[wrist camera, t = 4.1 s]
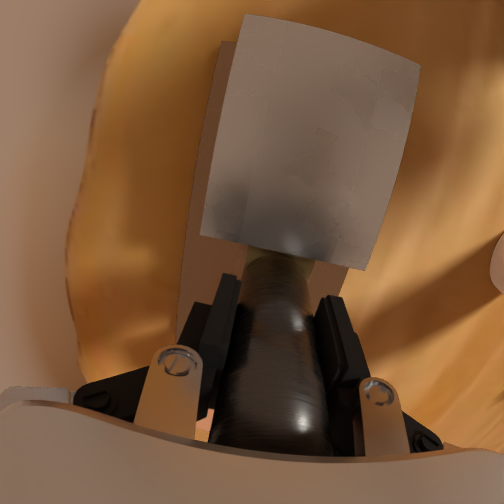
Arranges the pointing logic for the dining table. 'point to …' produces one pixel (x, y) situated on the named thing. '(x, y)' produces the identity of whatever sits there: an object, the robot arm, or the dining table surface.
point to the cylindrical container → (498, 265)
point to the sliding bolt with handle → (273, 363)
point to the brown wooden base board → (295, 155)
